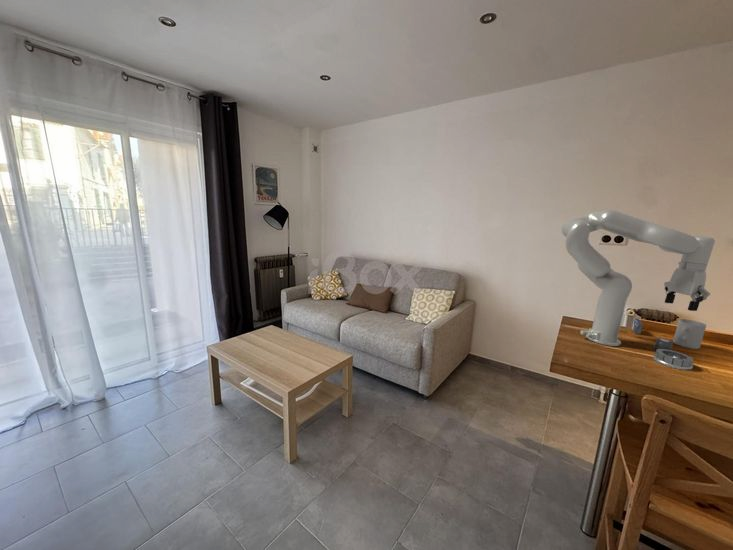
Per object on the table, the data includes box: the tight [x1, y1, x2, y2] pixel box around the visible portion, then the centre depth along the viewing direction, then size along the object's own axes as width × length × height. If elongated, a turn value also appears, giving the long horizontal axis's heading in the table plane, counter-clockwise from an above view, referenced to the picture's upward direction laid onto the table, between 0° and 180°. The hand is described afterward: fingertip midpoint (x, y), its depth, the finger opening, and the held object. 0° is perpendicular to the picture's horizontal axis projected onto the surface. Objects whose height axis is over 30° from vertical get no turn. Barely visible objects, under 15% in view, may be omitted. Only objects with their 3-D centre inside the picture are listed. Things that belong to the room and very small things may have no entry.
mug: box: [672, 318, 707, 350], centre depth 133 cm, size 12×8×11 cm
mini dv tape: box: [630, 318, 644, 336], centre depth 148 cm, size 8×2×6 cm, turn 152°
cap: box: [653, 337, 674, 352], centre depth 127 cm, size 5×5×5 cm
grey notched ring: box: [652, 349, 694, 371], centre depth 116 cm, size 11×11×4 cm
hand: (679, 306), depth 124 cm, fingers open, 9 cm apart
